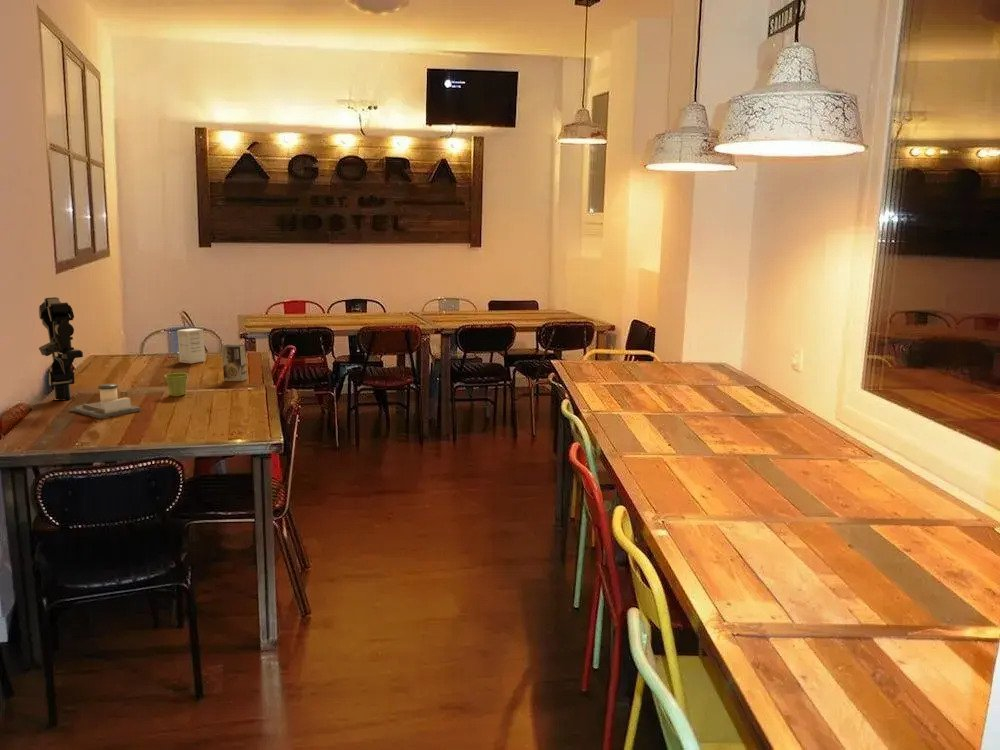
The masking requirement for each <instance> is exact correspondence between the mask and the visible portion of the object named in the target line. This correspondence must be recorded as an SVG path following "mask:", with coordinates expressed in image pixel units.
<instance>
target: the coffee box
mask: <svg viewBox="0 0 1000 750" xmlns="http://www.w3.org/2000/svg"><path fill="white" fill-rule="evenodd" d="M220 348H221V355H222V356H221V357H222V369H223V370H222V371H223V381H224V382H244V381H246V380H248V369H247V368H248V366H247V353H246V352H247V351H246V344H225V345H223V346H221V347H220Z"/></svg>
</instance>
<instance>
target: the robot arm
mask: <svg viewBox="0 0 1000 750" xmlns="http://www.w3.org/2000/svg"><path fill="white" fill-rule="evenodd" d="M38 317H39V320H41V324H42V325H43V326H44V328H45V329H46V330H47V334H48V339H49V342H48V343H46V344H43V345H41V346H40V347H38V350H39V351H40V354H41V355H42V356H45V357H48V356H51V358H52V364H51V365H50V368H49V372H48V385H49V386H50V387H53V389H54V390H53V391H54V398H56V399H70V398H71V399H73V398H74V395H71V389H70V388H71V387H70V386H71V385H74V384H75V382H76V381H75V375H76V374H75V372H74V371H73V369H71V367H72V365H73V363H74V361H75V359H78V358H83V357H84V352H83V351H82V350H81V349H77V348H76V349H75V348H74V347H73V346H72V340H74V337H73V335H74V332H75V329H74V327H73V326H74V325H72V324H70V321H74V318H75V314H74V311H73V307H72V306H71V305H70V304H69V303H68V301H67V302H61V301H60V298H59V297H45V298H44V301H43V302H42V303H41V304H39V307H38ZM72 397H73V398H72ZM71 399H70V400H71Z"/></svg>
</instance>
